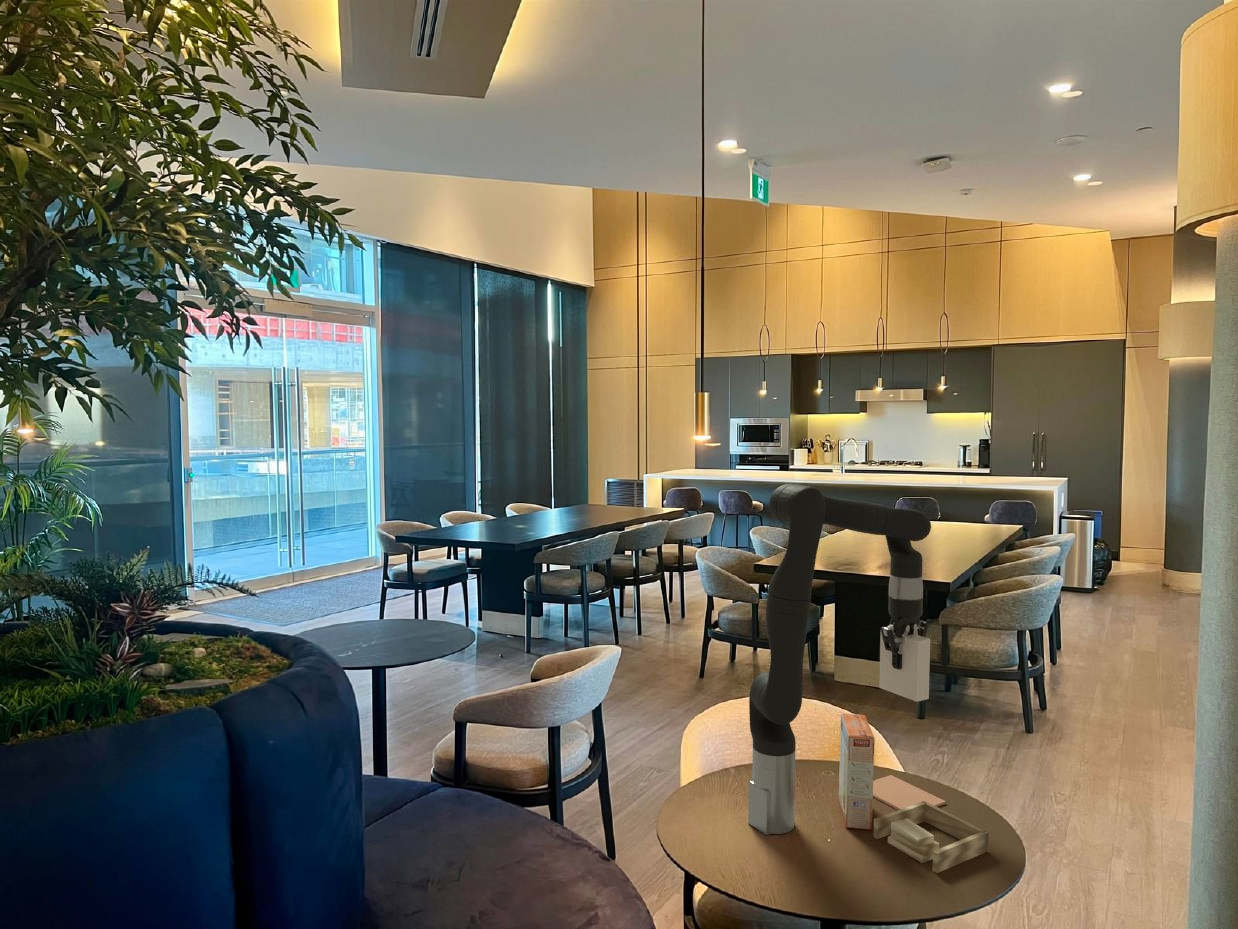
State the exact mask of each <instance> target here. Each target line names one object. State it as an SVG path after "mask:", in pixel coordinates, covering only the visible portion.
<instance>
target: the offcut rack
mask: <svg viewBox="0 0 1238 929" xmlns="http://www.w3.org/2000/svg"><path fill="white" fill-rule="evenodd" d="M903 819H909V820H910V821H912V822H913V823H915V824H916V825H918V824H921V823H924V822H925V823H927V824H928V825H931V826H933V827H934V828H937V829H938V830H940V831H942V832H944V833H946V834H947V835H950V836H951V837H954V838H956V839H957V840H958V841H955V842H953V843H950V844H947V845H945V846H942V847H939V849H938V850H935V851H933V859H932V869H931V870H932V872H934V873H935V874H938V873H942V872H943V871H945V870H949V869H950V868H952V867H954V866H957V865H959V864H963V863H964V862H966V861H967V862H968V861H969V860H972V859H973V858H976V857H978V856H981V855H983V854H985V853H987V852H989V832H988V831H986V830H984V829H982V828H980V827H978V826H976V825H974V824H972V823H970V822H968V821H966V820H964V819H962V818H960V817H957V816H956V815H953V814H951V813H950V812H947V811H946V810H944V809H942V808H939V806H938V807H936V806H934V805H932V804H930V803H928V802H925V801H923V802H920V803H917V804H914V805H911V806H909V807H906V808H903V809H900V810H897V809H896V810H895V811H892V812H890V813H887V814H884V815H881V816H878V817H874V818H873V838H874V839H876V840H878V839H882V838H885V837H888V836H890V835H891V831H892V830H891V823H892V822H896V821H900V820H903Z"/></svg>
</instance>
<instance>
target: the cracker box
mask: <svg viewBox="0 0 1238 929" xmlns="http://www.w3.org/2000/svg"><path fill="white" fill-rule="evenodd" d="M839 731H840V737H839V738H840V739H839V740H840V742H839V744H840V745H839V772H838V773H839V775H838V802H839V806H840V811H841V814H842V818H843V822H844V825H845V828H847V829H856V830H859V829H860V830H866V831H867V830H869V831H871V830H873V829H872V827H873V799H874V797H873V781H874V769H875V768H874V763H875V744H876V743H875V740H876V739H875V736H874V734H873V733H874V732H873V731H872V728H871V726H870V724H869V720H868V719H867V715H865V714H858V713H841V714H840V730H839Z"/></svg>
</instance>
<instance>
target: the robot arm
mask: <svg viewBox="0 0 1238 929" xmlns="http://www.w3.org/2000/svg"><path fill="white" fill-rule="evenodd" d="M768 505H769V511H770V513H771V515H772V516H773V518H774V519H776V520H777V521H778V522H779V523H780V524H781V523H782V524H783V525H786V526H789V528H788V529H789V530H788V531H789V533H788V539H787V540H788V542H787V546H786V550H785V554H784V556H783V558H782V560H781V562H780V563H779V565H778V566H777V568H776V570H775V571H774V574H773V575H772V577H771V579H770V581H769V584H768V588H767V596H766V603H765V604H766V605H765V624H766V632H767V633H766V634H767V638H768V644H769V650H770V651H769V652H770V662H769V664H770V665H769V670H768V671H764V672H762V673H760V674H758V675H757V676H756V677H755V678H754V680H753V681H752V682H751V685H750V689H749V696H748V697H749V698H748V706H749V708H748V709H749V710H748V712H749V713H748V714H749V729H750V735H751V738H752V772H751V773H752V774H751V776H752V777H751V778H752V780H749V781H748V796H747V797H748V798H747V799H748V800H747V801H748V805H747V806H748V807H747V809H748V810H747V813H748V814H747V815H748V816H747V823H748V824H749V825H750V826H751V827H753V828H755V829H757V830H758V831H759V832H761V833H762V834H763V835H782V834H787V833H789V832H792V830H793V829H794V828H795V811H796V810H795V809H796V808H795V806H796V803H795V802H796V801H795V800H796V798H795V796H796V792H795V791H796V786H795V785H796V742H797V740H796V736H795V734H794V732H793V730H792V727H791V726H792V725H791V722H794V721H795V719H796V718H797V717H798V715H799V713H800V711H801V708H802V704H803V703H802V702H803V674H804V672H803V668H804V655H805V648H806V640H807V639H806V638H807V631H808V630H807V629H808V623H809V617H810V612H811V611H810V610H811V603H812V602H811V601H812V592H813V591H812V589H813V588H812V587H813V582H814V573H815V567H816V561H817V560H816V559H817V554H818V550H819V549H818V548H819V544H820V540H821V539H820V538H821V535H822V531H823V527H824V525H828V526H831V527H832V526H833V527H836V528H841V529H845V530H849V531H853V532H856V533H857V532H858V533H862V534H863V533H864V534H868V535H869V534H870V535H876V536H885V539H886V545H887V549H888V552H889V556H890V565H889V566H890V567H889V568H890V570H889V571H890V572H889V582H888V603H887V604H888V605H887V606H888V610H887V611H888V614H889V615H890V617H891V618H890V622H889V625H887V626H882V627H880V634H881V633H882V637H883V642H884V646H885V649H886V650H888V651H891V652H892V666H893V668H895V669H898V670H900V669H902V654H901V653H902V650H903V644H904V643H905V640H904V639H905V637H907V636H908V635H919V636H922V637H926V638H927V636H926V635H927V632H928V628H929V622H928V621H924V620H920V617H921V616H923V602H924V600H923V599H924V584H923V556H922V553H920V551H918V550H916V549H915V548H914V547H913V546H912V543H911V542H919V541H920V542H921V541H923V540H924V539H926V538H927V537H928V536H929V535H930V532H931V530H932V523H931V520H930V519H929V517H928V515H926V514H925V513H923V511H919V510H914V509H908V508H901V507H899V508H898V507H892V506H891V507H890V506H887V505H883V504H879V503H876V502H875V503H873V502H869V501H868V502H867V501H865V500H864V501H862V500H856V499H855V500H853V499H846V498H838V497H831V496H825V495H824V494H823V493H822V491H821V490H820V489H818V488H816V487H815V486H810V485H804V484H798V483H784V484H782V485H780V486H778V487H777V488H775V489H774V491H773V492H772V493H771V495H770V498H769V502H768ZM894 636H896V637H898V638H901V640H898V639H896V638H895V637H894ZM896 642H897V643H898V648H896ZM889 643H890V644H889ZM890 645H891V646H890Z"/></svg>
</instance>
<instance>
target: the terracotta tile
mask: <svg viewBox="0 0 1238 929" xmlns="http://www.w3.org/2000/svg"><path fill="white" fill-rule="evenodd" d="M874 797H875V798H874ZM873 798H874V799H876V800H878V801H879V802H881V801H882V803H884V804H885V805H887V806H890V807H891V808H893V809H895V810H896V811H897V810H900V809H903V808H906V807H909V806H911V805H914V804H917V803H920V802H923V801H925V802H928V803H930V804H932V805H934V806H936V807H938V808H939V807H940V806H943V805H946V804H947V802H946V800H944V799H942V798H939V797H938V796H935V795H933V794H932V793H929V792H927V791H925V790H923V789H921V788H919V787H916V786H914V785H912V784H911V783H909V782H907V781H904V780H903V779H900V778H899V777H895V776H894V775H893V774H890V775H887V776H883V777H880V778H877V779H875V780H874V779H873Z"/></svg>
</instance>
